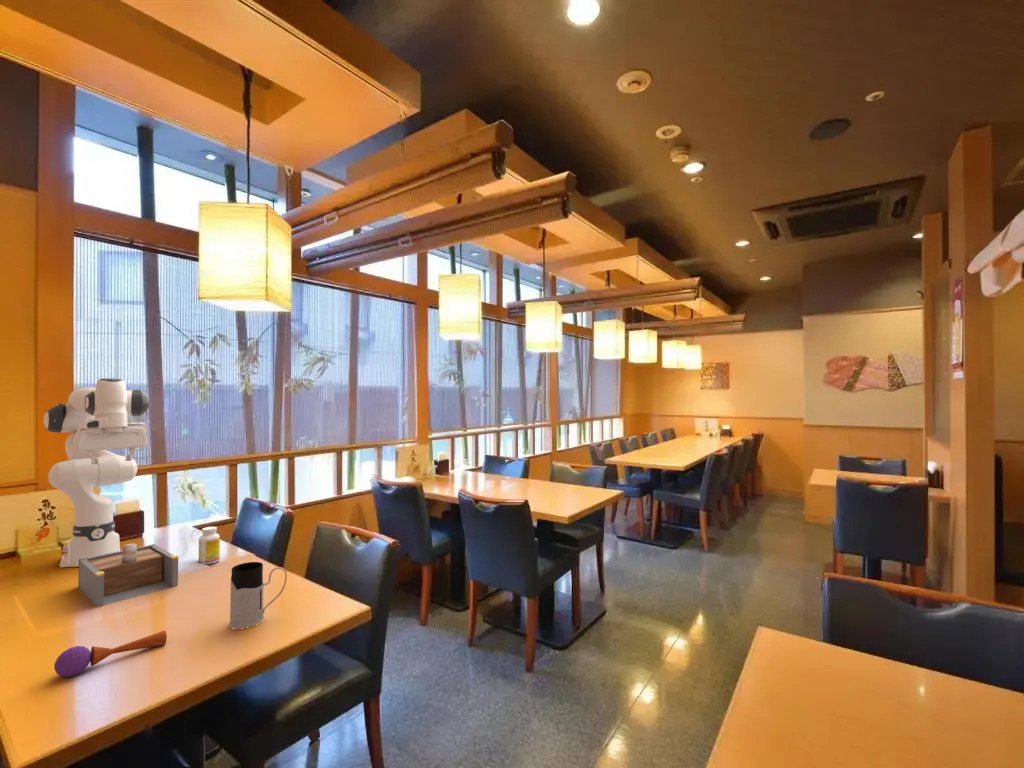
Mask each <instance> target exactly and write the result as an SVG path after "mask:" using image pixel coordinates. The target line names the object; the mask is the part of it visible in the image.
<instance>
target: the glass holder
mask: <svg viewBox="0 0 1024 768" xmlns="http://www.w3.org/2000/svg"><path fill="white" fill-rule="evenodd" d="M275 570H283V572H284V575H285V576H284V578H285V579H284V584H283V586H282V589H280V591H279V593H278V594H277V595H276V596H275V597H274V598H273V599H272V600H271V601H270V602H268V603H267V604H266V605H265V606H264V586H267V585H269V584H270V583H271V576H272V574H273V573H274V572H275ZM263 572H264V565H263V563H262V562H261V561H249V562H248V561H247V562H244V563H240V564H237V565H234V566H233V567H232V568H231V577H230V602H229V603H230V609H229V610H230V612H229V613H230V615H229V616H230V619H229V623H228V626H229V627H230V628H234V629H241V628H247V627H251V626H254V625H256V624H258V623H260V622H261V621H262V620H263V619H264V617H265V615H264V614H265V610H266V609H267V608H268V607H269V606H270V605H271V604H272V603H273V602H274V601H275V600H277V598H278V597H279V596H280V595H282V593H283V591H284V589H285V587H286V583H287V579H288V577H287V576H288V573H287V571H286V569H285V568H283V567H279V566H277V567H275V568H273V569H272V570H271V571H270V572H269V576H268V582H266V583H264V581H263V580H264V579H263V577H264V575H263V574H264V573H263ZM228 626H227V627H228ZM229 627H228V628H229ZM254 627H255V626H254ZM230 628H229V629H230ZM251 628H252V627H251ZM234 629H233V630H234Z"/></svg>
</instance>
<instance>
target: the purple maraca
mask: <svg viewBox="0 0 1024 768" xmlns="http://www.w3.org/2000/svg"><path fill="white" fill-rule="evenodd" d="M167 636H168V635H167V632H166V630H162V631H160V632H156V633H153V634H151V635H147V636H145V637H142V638H140V639H136V640H134V641H131V642H128V643H124V644H122V645H119V646H116V647H113V648H108V647H104V646H102V647H101V646H92V647H91V649H89V648H87V647H86V646H83V645H82V646H80V645H76V646H73V647H69V648H68V649H65V650H64V651H63V652H61V654H60V655H58V657H57V658H56V661H55V662H54V671H55V673H56V674H57V675H58V676H60V677H61V678H71V677H74V676H77V675H79V674H81V673H82V672H83V671H85V669H87V668H88V666H89V665H90V666H91V667H94V666H95V665H97V664H98V663H100V662H102V661H103V660H104V659H106V658H107V657H109V656H112V654H113V655H114V654H119V653H125V652H131V651H136V650H143V649H147V648H154V647H160V646H164V645H166V643H167Z"/></svg>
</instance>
